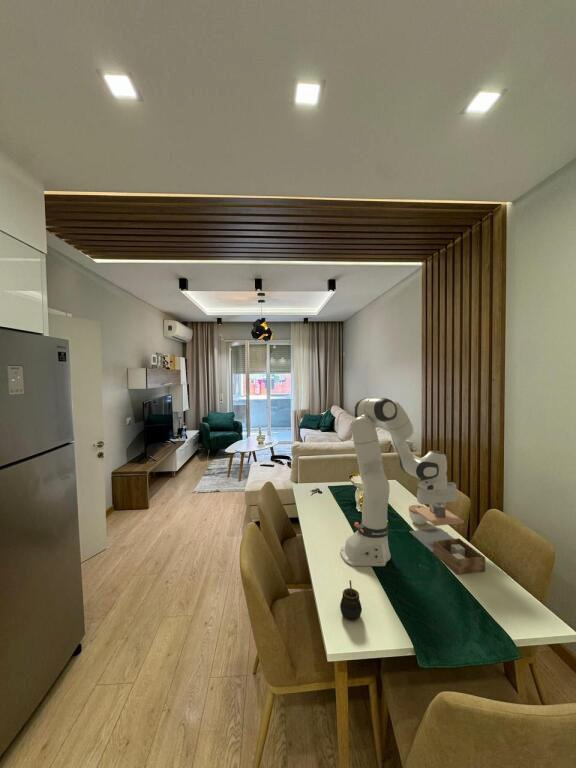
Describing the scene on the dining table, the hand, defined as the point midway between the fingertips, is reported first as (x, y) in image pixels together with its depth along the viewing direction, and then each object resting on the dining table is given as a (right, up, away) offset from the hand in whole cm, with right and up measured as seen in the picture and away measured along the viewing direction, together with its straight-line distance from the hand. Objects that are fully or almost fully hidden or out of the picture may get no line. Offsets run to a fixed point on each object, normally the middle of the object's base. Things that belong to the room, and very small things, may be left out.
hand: (437, 511), depth 163 cm
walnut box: (0, -15, -19) cm, 24 cm away
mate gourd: (-53, -17, -50) cm, 74 cm away
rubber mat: (0, -14, 0) cm, 14 cm away
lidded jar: (-1, -14, +19) cm, 24 cm away
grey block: (+2, -14, -15) cm, 21 cm away
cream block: (-1, -14, -23) cm, 27 cm away
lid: (0, -3, 0) cm, 3 cm away
